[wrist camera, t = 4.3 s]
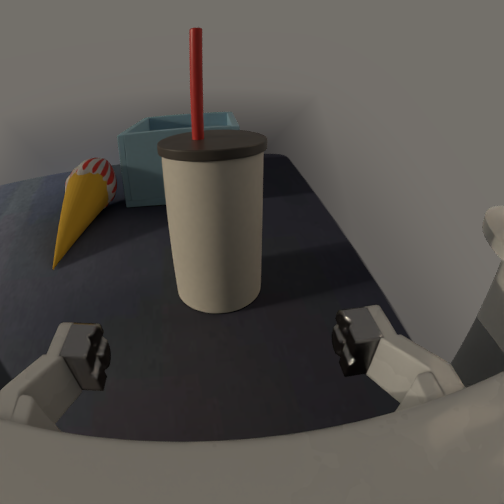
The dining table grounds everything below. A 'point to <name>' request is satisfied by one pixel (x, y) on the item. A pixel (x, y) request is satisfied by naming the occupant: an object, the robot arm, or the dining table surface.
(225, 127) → the bin
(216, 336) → the dining table surface
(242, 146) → the paper cup
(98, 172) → the ice cream cone
